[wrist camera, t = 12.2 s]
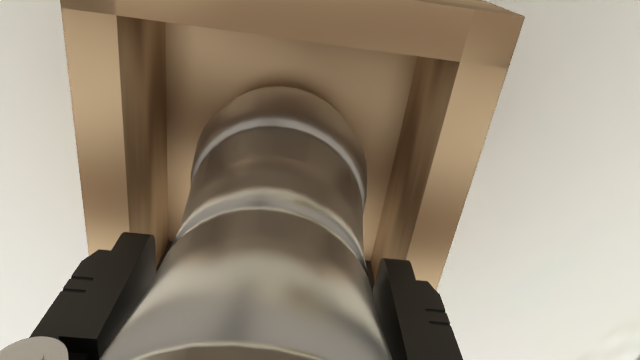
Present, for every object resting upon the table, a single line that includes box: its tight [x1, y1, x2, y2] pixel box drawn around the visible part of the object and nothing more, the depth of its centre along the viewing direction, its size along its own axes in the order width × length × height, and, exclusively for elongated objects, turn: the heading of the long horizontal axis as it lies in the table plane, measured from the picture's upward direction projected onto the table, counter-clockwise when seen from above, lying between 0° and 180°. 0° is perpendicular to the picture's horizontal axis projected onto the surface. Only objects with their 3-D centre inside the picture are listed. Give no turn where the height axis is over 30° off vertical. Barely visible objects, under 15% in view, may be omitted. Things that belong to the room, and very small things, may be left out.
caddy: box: [60, 0, 525, 291], centre depth 19 cm, size 14×13×6 cm
